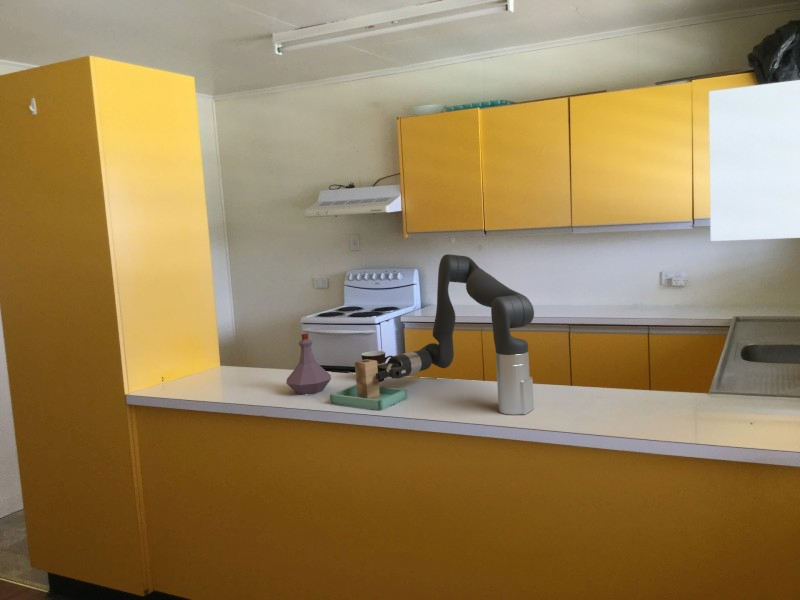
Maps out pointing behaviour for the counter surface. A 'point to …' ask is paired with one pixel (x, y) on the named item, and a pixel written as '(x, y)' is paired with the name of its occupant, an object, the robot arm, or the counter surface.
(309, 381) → the flask
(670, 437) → the counter surface
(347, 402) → the green tray
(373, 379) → the tan wooden tall block
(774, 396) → the counter surface
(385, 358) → the coffee mug
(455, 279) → the robot arm
